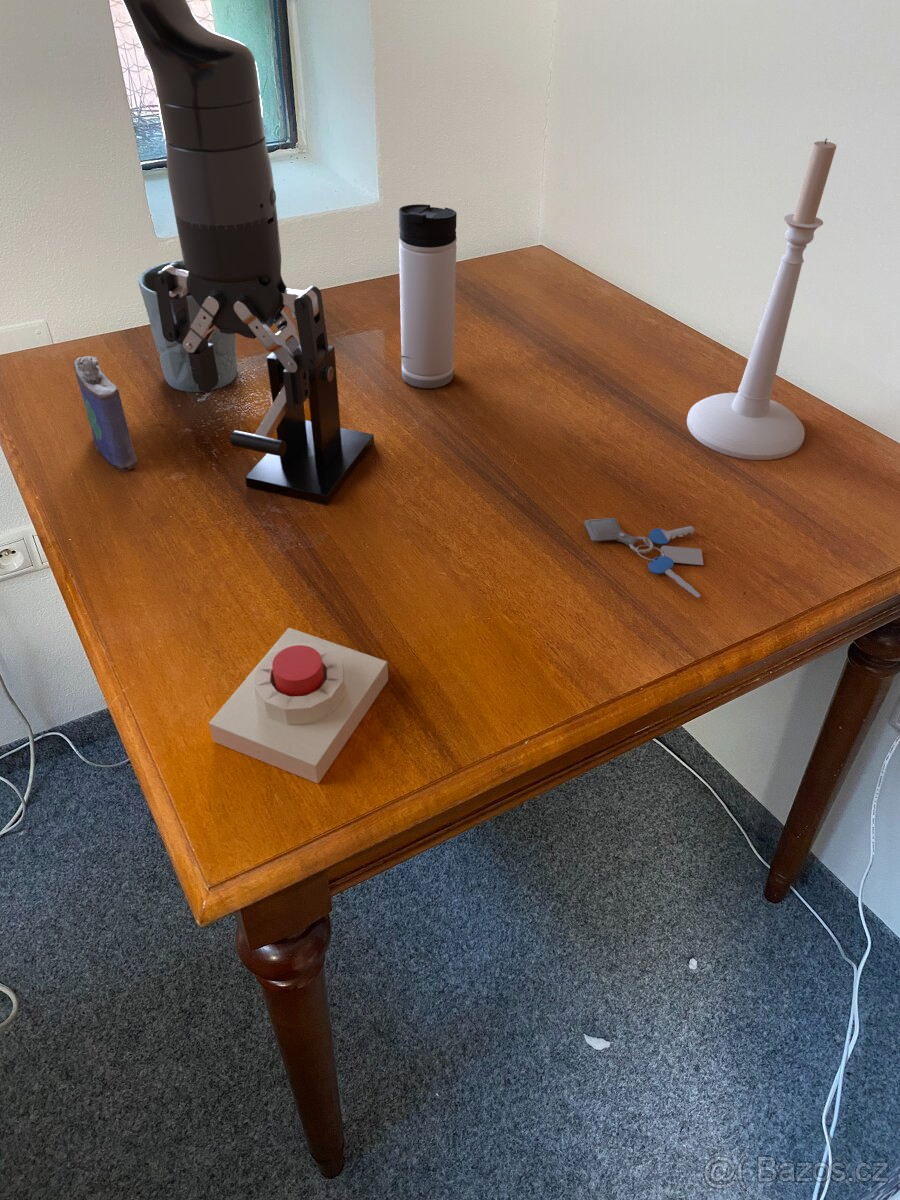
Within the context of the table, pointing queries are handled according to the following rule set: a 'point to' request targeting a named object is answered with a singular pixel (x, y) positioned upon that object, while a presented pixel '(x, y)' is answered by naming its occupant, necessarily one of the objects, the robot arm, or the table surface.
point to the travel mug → (427, 294)
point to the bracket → (311, 441)
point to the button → (298, 670)
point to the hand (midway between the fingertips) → (252, 396)
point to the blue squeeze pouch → (105, 414)
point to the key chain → (658, 565)
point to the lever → (265, 431)
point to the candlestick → (767, 348)
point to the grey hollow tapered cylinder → (173, 352)
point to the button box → (300, 709)
